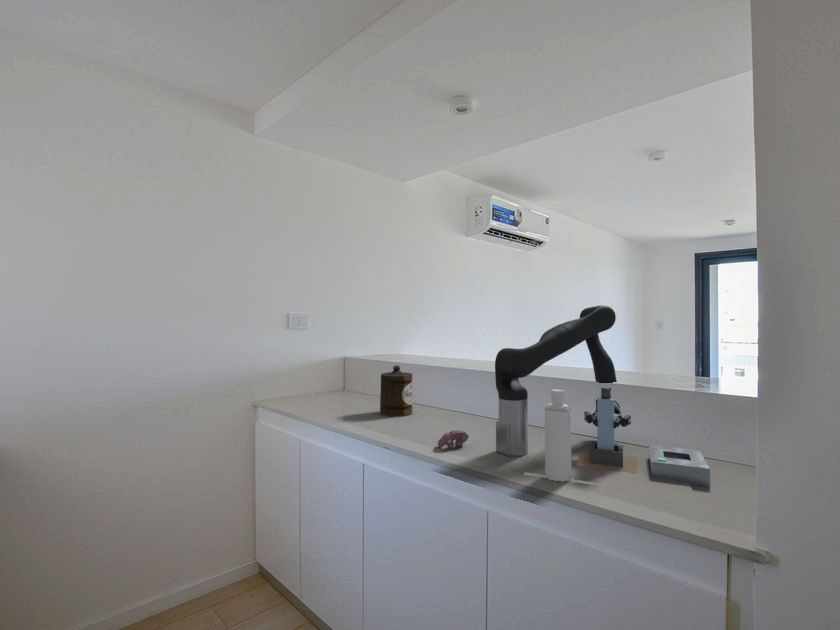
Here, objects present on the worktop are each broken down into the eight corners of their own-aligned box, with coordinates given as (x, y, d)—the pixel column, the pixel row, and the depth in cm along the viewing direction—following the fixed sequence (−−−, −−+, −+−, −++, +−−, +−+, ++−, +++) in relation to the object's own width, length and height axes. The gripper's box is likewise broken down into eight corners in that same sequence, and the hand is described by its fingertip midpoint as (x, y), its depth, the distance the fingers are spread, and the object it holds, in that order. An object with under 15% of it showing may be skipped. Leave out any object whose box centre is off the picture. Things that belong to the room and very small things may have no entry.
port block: (710, 486, 110) (709, 467, 110) (652, 478, 116) (651, 460, 116) (699, 465, 126) (699, 449, 126) (649, 459, 132) (649, 443, 132)
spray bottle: (567, 484, 112) (567, 386, 112) (542, 479, 115) (541, 384, 116) (573, 476, 117) (573, 383, 118) (549, 471, 121) (548, 382, 121)
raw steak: (441, 454, 142) (447, 437, 140) (435, 444, 146) (440, 428, 143) (466, 449, 147) (472, 433, 145) (460, 441, 151) (465, 424, 148)
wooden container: (411, 416, 192) (411, 367, 192) (378, 416, 192) (378, 367, 193) (412, 410, 207) (413, 364, 207) (381, 410, 207) (382, 363, 208)
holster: (637, 475, 118) (637, 458, 118) (575, 466, 125) (575, 450, 125) (636, 458, 132) (636, 443, 133) (580, 452, 139) (580, 437, 139)
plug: (613, 455, 126) (613, 389, 126) (597, 453, 128) (597, 388, 128) (614, 451, 130) (614, 387, 130) (598, 449, 132) (598, 386, 132)
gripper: (584, 399, 145) (579, 408, 130) (632, 403, 139) (632, 413, 123) (584, 422, 145) (579, 433, 129) (632, 427, 139) (632, 439, 123)
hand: (605, 423), depth 126 cm, fingers closed on plug, 4 cm apart
